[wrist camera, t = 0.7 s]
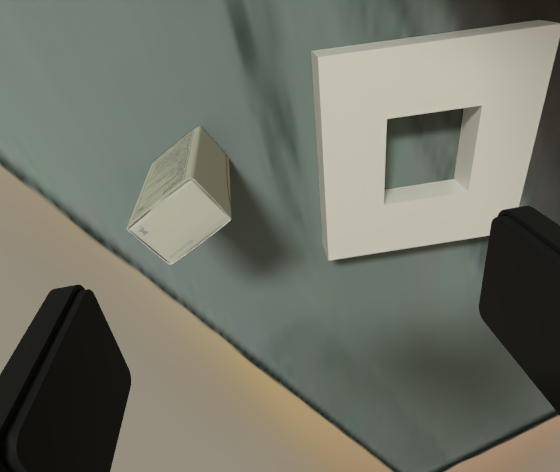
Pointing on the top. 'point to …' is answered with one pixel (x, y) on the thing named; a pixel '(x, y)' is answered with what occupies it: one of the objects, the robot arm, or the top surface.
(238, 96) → the top surface
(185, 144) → the skincare box
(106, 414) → the robot arm
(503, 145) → the box stand
